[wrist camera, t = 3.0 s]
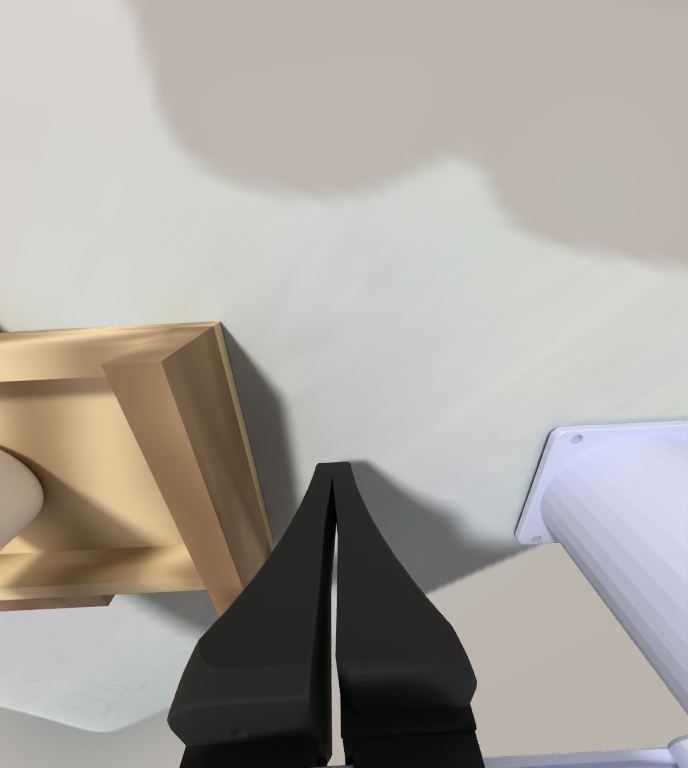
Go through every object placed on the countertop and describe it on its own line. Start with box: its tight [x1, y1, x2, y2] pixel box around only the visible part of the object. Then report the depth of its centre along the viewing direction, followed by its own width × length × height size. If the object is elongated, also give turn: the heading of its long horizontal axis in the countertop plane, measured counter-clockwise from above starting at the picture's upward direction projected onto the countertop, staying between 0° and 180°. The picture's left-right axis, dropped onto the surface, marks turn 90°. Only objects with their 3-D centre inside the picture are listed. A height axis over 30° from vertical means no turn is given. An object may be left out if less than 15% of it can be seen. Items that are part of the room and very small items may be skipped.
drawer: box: [0, 322, 274, 618], centre depth 12 cm, size 18×13×4 cm
